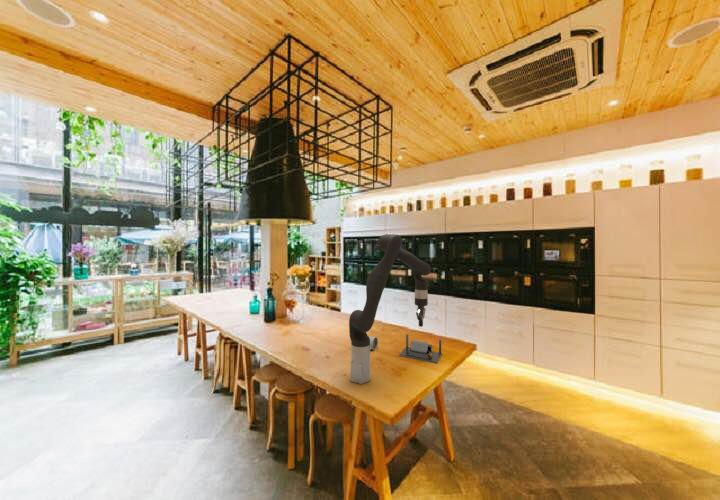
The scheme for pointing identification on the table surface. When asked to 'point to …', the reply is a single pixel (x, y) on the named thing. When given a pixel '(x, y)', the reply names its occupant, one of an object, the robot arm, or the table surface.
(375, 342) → the ceramic mug
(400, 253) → the robot arm
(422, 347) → the grey rectangular block
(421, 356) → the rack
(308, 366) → the table surface
